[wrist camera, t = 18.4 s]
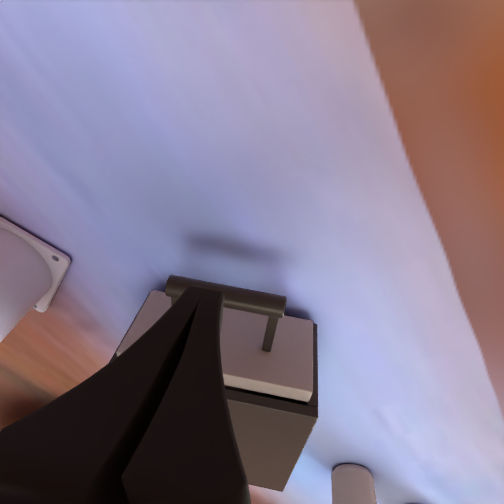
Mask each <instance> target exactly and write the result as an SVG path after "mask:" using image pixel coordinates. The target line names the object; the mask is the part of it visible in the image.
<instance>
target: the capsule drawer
mask: <svg viewBox="0 0 504 504" xmlns="http://www.w3.org/2000/svg"><path fill="white" fill-rule="evenodd" d="M189 286H193V287H199V288H204V289H209V290H214V291H220V292H222V293H223V294H224V306H223V316H222V327H221V331H220V351H221V362H222V371H223V378H224V385H227V386H232V387H237V388H242V389H246V392H245V393H249V394H254V395H259V396H264V397H268V398H273V399H278V400H283V401H288V402H293V403H295V402H296V400H300V401H305V402H309V400H310V397H311V395H312V393H313V321H311V320H306V319H301V318H295V317H290V316H285V315H284V312H285V307H286V297H285V296H280V295H275V294H270V293H264V292H259V291H254V290H249V289H243V288H238V287H233V286H228V285H222V284H217V283H212V282H206V281H201V280H196V279H191V278H185V277H180V276H175V275H170V276H169V278H168V280H167V283H166V287H165V292H161V291H156V290H152V291H151V293H150V294H149V296H148V298H147V300H146V301H145V303H144V305H143V307H142V308H141V310H140V312H139V314H138V315H137V317H136V319H135V321H134V322H133V324H132V326H131V327H130V329H129V331H128V333H127V334H126V336H125V338H124V340H123V341H122V343H121V345H120V347H119V348H118V350H117V352H116V353H117V357H118V356H119V355H120V354H121V353H123V352H124V351H125V350H126V349H127V348H129V347H130V346H131V345H132V344H133V343H134V342H135V341H136V340H138V339H139V338H140V337H141V336H142V335H143V334H144V333H145V332H146V331H147V330H148V329H150V328H151V327H152V326H153V325H154V324H155V323H156V322H157V321H158V320H159V319H160V318H161V316H162V315H163V314H164V313H165V312H166V311H167V310H168V309H169V308H170V307H171V306H172V305H173V304H174V303H175V301H176V300H177V299H178V298H179V297H180V296H181V294H182V293H183V292H184V291H185V289H186V288H187V287H189Z"/></svg>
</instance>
